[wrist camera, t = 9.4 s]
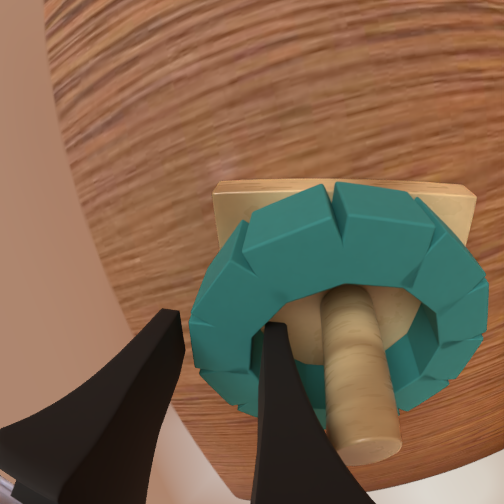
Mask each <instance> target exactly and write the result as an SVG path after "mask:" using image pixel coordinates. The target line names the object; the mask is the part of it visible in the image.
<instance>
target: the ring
mask: <svg viewBox="0 0 504 504" xmlns="http://www.w3.org/2000/svg"><path fill="white" fill-rule="evenodd" d="M485 276H486V273H485V272H484V271H483V269H482V268H481V266H480V265H479V264H478V262H477V261H476V260H475V258H474V257H473V256H472V254H471V253H470V252H469V251H468V249H467V248H466V247H465V245H464V244H463V243H462V242H461V240H460V239H459V238H458V237H457V236H456V234H455V233H454V232H453V231H452V230H451V229H450V228H449V227H448V226H447V225H446V224H445V223H444V222H443V221H442V220H441V219H440V218H439V217H438V216H437V215H436V214H435V213H434V212H433V211H432V210H431V209H430V208H429V207H428V206H427V205H426V204H425V203H424V202H423V201H422V200H421V199H420V198H419V197H416V198H415V199H413V198H412V197H411V196H410V195H409V193H408V192H406V191H401V190H395V189H388V188H382V187H375V186H369V185H362V184H354V183H347V182H339V181H337V182H335V185H334V192H333V198H332V203H331V200H330V198H329V196H328V193H327V191H326V189H325V187H324V185H323V184H318V185H316V186H313V187H311V188H308V189H306V190H304V191H301V192H299V193H296V194H294V195H291V196H289V197H287V198H284V199H282V200H279V201H277V202H275V203H272V204H270V205H268V206H265V207H263V208H260V209H258V210H256V211H253V212H252V214H251V218H250V222H249V223H248V222H246V221H245V220H241V221H240V223H239V224H238V226H237V227H236V229H235V230H234V231H233V233H232V234H231V236H230V237H229V238H228V240H227V241H226V243H225V244H224V246H223V247H222V248H221V250H220V251H219V253H218V254H217V256H216V257H215V258H214V260H213V261H212V263H211V264H210V266H209V267H208V269H207V271H206V274H205V276H204V279H203V282H202V284H201V287H200V289H199V292H198V295H197V297H196V300H195V302H194V305H193V308H192V310H191V317H190V319H189V330H190V337H191V345H192V352H193V359H194V365H195V368H200V372H199V374H200V376H201V377H202V378H203V379H204V380H205V381H206V382H207V383H208V384H209V385H210V386H211V387H212V388H213V389H214V390H215V391H216V392H217V393H218V394H219V395H220V396H221V397H222V398H223V399H224V400H225V401H226V402H228V403H229V404H230V405H238V410H239V411H241V412H244V413H246V414H249V415H252V416H254V417H257V418H258V385H259V376H260V366H261V357H262V347H263V338H264V334H263V332H262V331H261V328H262V327H263V326H264V325H265V324H266V323H267V322H268V321H269V320H270V319H271V318H272V317H273V316H274V315H275V314H276V313H277V312H278V311H279V310H280V309H281V308H282V307H283V306H284V305H285V304H286V303H289V302H292V301H295V300H298V299H301V298H304V297H307V296H310V295H313V294H316V293H319V292H322V291H325V290H328V289H331V288H334V287H337V286H340V285H342V284H357V285H369V286H382V287H395V288H404V289H405V290H406V291H408V292H409V293H410V294H412V295H413V296H414V297H416V298H417V299H418V300H419V301H421V304H420V307H419V309H418V311H417V313H416V315H415V317H414V320H413V322H412V324H411V326H410V328H409V330H408V332H407V334H405V335H404V336H403V337H402V338H401V339H399V340H398V341H397V342H395V343H394V344H393V345H392V346H390V347H389V348H388V349H387V350H385V354H386V358H387V362H388V367H389V371H390V376H391V381H392V386H393V391H394V396H395V401H396V406H397V412H398V416H399V415H400V413H399V409H401V410H404V411H409V410H411V409H413V408H414V407H416V406H417V405H419V404H421V403H422V402H424V401H425V400H427V399H429V398H430V397H432V396H433V395H435V394H436V393H438V392H439V391H441V390H442V389H444V388H445V387H447V386H448V385H449V381H448V379H456V378H457V377H458V375H459V374H460V373H461V371H462V370H463V369H464V367H465V366H466V364H467V363H468V362H469V360H470V359H471V357H472V356H473V354H474V353H475V351H476V350H477V348H478V347H479V345H480V344H481V342H482V341H483V336H482V333H484V332H486V330H487V317H488V295H489V283H488V282H487V280H486V279H485ZM294 360H295V364H296V367H297V369H298V372H299V375H300V378H301V381H302V384H303V386H304V389H305V391H306V394H307V396H308V398H309V401H310V403H311V405H312V407H313V410H314V412H315V414H316V416H317V418H318V420H319V422H320V424H321V426H322V427H323V429H326V406H325V380H324V365H311V364H304V363H302V362H300V361H298V360H296V359H294Z"/></svg>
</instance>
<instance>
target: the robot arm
mask: <svg viewBox="0 0 504 504" xmlns="http://www.w3.org/2000/svg"><path fill="white" fill-rule="evenodd" d="M184 355H185V344H184V338H183V332H182V325H181V319H180V312H179V311H177V310H170V309H163V308H162V309H161V310H160V311H159V312H158V313H157V314H156V315H155V316H154V317H153V318H152V319H151V321H150V322H149V323H148V324H147V325H146V326H145V327H144V328H143V329H142V330H141V331H140V332H139V333H138V334H137V335H136V336H135V337H134V338H133V339H132V340H131V341H130V343H128V344H127V346H125V347H124V349H122V350H121V352H120V353H118V354H117V355H116V356H115V357H114V358H113V359H112V360H111V361H110V362H108V363H107V364H106V365H105V366H104V367H103V368H102V369H101V370H100V371H98V372H97V373H96V374H95V375H94V376H92V377H91V378H90V379H89V380H87V381H86V382H85V383H83V384H82V385H81V386H79V387H78V388H77V389H75V390H74V391H72V392H71V393H69V394H68V395H67V396H65V397H63V398H62V399H60V400H59V401H57V402H55V403H54V404H52V405H50V406H48V407H47V408H45V409H43V410H41V411H39V412H37V413H36V414H34V415H32V416H30V417H28V418H25V419H23V420H21V421H18V422H16V423H13V424H11V425H9V426H6V427H3V428H1V429H0V469H1V470H2V471H4V472H5V473H7V474H9V475H10V476H11V477H13V478H14V479H16V482H15V485H14V484H12V483H11V482H9V481H8V480H6V479H5V478H4V477H2V476H1V475H0V504H146V497H147V489H148V483H149V477H150V472H151V467H152V462H153V457H154V452H155V448H156V443H157V439H158V435H159V432H160V429H161V425H162V423H163V420H164V417H165V414H166V411H167V409H168V406H169V403H170V401H171V398H172V395H173V392H174V390H175V387H176V384H177V381H178V379H179V376H180V372H181V368H182V363H183V359H184ZM251 504H376V503H375V502H374V501H373V500H372V499H371V498H370V497H369V495H368V494H367V493H366V492H365V491H364V489H363V488H362V487H361V486H360V484H359V483H358V482H357V480H356V479H355V478H354V476H353V475H352V474H351V472H350V471H349V470H348V468H347V467H346V465H345V464H344V462H343V461H342V459H341V457H340V456H339V454H338V453H337V451H336V450H335V448H334V447H333V445H332V444H331V442H330V440H329V438H328V436H327V435H326V433H325V431H324V429H323V427H322V426H321V424H320V422H319V420H318V418H317V416H316V414H315V412H314V410H313V407H312V405H311V403H310V401H309V398H308V396H307V394H306V391H305V389H304V386H303V384H302V381H301V378H300V375H299V372H298V369H297V367H296V364H295V360H294V357H293V353H292V350H291V346H290V342H289V337H288V330H287V325H286V324H285V323H282V322H271V321H268V322H267V323H266V324H265V328H264V338H263V347H262V357H261V366H260V376H259V385H258V442H257V456H256V464H255V472H254V480H253V488H252V495H251Z"/></svg>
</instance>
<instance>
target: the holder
mask: <svg viewBox="0 0 504 504" xmlns="http://www.w3.org/2000/svg"><path fill="white" fill-rule="evenodd" d="M337 181H339V182H347V183H354V184H362V185H369V186H375V187H382V188H388V189H395V190H401V191H406V192H408V193H409V195H410V196H411V197H412V198H413V199H415V198H416V197H419V198H420V199H421V200H422V201H423V202H424V203H425V204H426V205H427V206H428V207H429V208H430V209H431V210H432V211H433V212H434V213H435V214H436V215H437V216H438V217H439V218H440V219H441V220H442V221H443V222H444V223H445V224H446V225H447V226H448V227H449V228H450V229H451V230H452V231H453V232H454V233H455V234H456V236H457V237H458V238H459V239H460V240H461V242H462V243H463V244H464V245H465V247H466V243H467V239H468V235H469V231H470V227H471V223H472V219H473V214H474V210H475V205H476V200H477V197H476V196H475V195H474V194H473V193H472V192H471V191H469V190H468V189H467V188H466V187H464V186H463V185H459V184H447V183H433V182H418V181H399V180H374V179H257V180H231V181H220V182H219V183H218V184H217V186H216V187H215V189H214V191H213V192H212V200H213V207H214V214H215V222H216V229H217V236H218V243H219V249H220V250H221V248H222V247H223V246H224V244H225V243H226V241H227V240H228V238H229V237H230V236H231V234H232V233H233V231H234V230H235V229H236V227H237V226H238V224H239V223H240V221H241V220H245V221H246V222H248V223H249V222H250V218H251V214H252V212H253V211H256V210H258V209H260V208H263V207H265V206H268V205H270V204H272V203H275V202H277V201H279V200H282V199H284V198H287V197H289V196H291V195H294V194H296V193H299V192H301V191H304V190H306V189H308V188H311V187H313V186H316V185H318V184H323V185H324V187H325V189H326V191H327V193H328V196H329V198H330V200H331V203H332V198H333V192H334V185H335V182H337ZM420 304H421V301H419V300H418V299H417V298H416V297H414V296H413V295H412V294H410V293H409V292H408V291H406V290H405V289H404V288H395V287H382V286H369V285H357V284H342V285H340V286H337V287H334V288H331V289H328V290H325V291H322V292H319V293H316V294H313V295H310V296H307V297H304V298H301V299H298V300H295V301H292V302H289V303H286V304H285V305H284V306H283V307H282V308H281V309H280V310H279V311H278V312H277V313H276V314H275V315H274V316H273V317H272V318H271V319H270V320H269V321H271V322H282V323H285V324H286V325H287V330H288V337H289V342H290V346H291V350H292V353H293V357H294V359H296V360H298V361H300V362H302V363H304V364H311V365H324V380H325V406H326V435H327V436H328V438H329V440H330V442H331V444H332V445H333V447H334V448H335V450H336V451H337V453H338V454H339V456H340V457H341V459H342V461H343V462H344V464H345V465H346V466H360V465H367V464H371V463H375V462H379V461H382V460H384V459H387V458H389V457H391V456H393V455H394V454H396V453H397V452H398V451H399V450H400V449H401V447H402V436H401V429H400V423H399V417H398V412H397V406H396V401H395V396H394V391H393V386H392V381H391V376H390V371H389V367H388V362H387V358H386V354H385V350H387V349H388V348H389V347H390V346H392V345H393V344H394V343H395V342H397V341H398V340H399V339H401V338H402V337H403V336H404V335H405V334H407V332H408V330H409V328H410V326H411V324H412V322H413V320H414V317H415V315H416V313H417V311H418V309H419V307H420ZM264 328H265V325H264V326H263V327H262V328H261V331H262V332H263V334H264Z"/></svg>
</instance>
